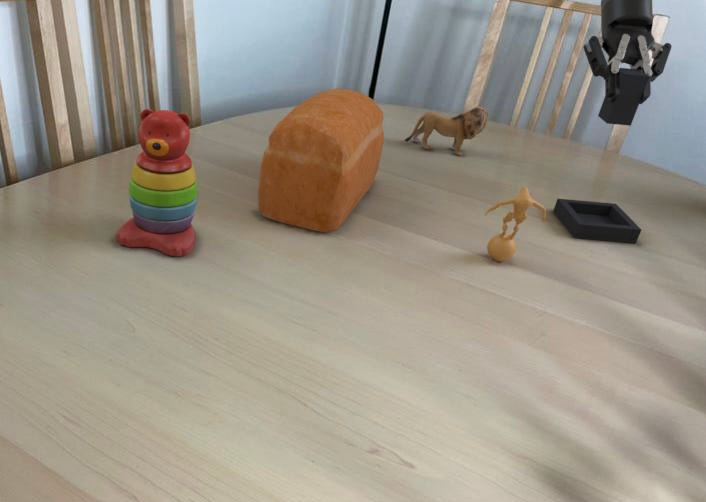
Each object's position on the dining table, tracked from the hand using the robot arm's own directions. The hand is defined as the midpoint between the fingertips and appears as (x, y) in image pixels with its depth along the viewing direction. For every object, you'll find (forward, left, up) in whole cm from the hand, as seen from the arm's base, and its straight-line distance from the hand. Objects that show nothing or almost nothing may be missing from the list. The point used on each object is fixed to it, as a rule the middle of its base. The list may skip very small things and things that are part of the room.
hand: (628, 99), depth 120 cm
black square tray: (+3, +10, -18) cm, 21 cm away
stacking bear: (+72, +27, -18) cm, 79 cm away
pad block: (0, -2, -4) cm, 5 cm away
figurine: (+23, +26, -18) cm, 40 cm away
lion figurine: (+21, -22, -18) cm, 35 cm away
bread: (+48, +8, -18) cm, 52 cm away
